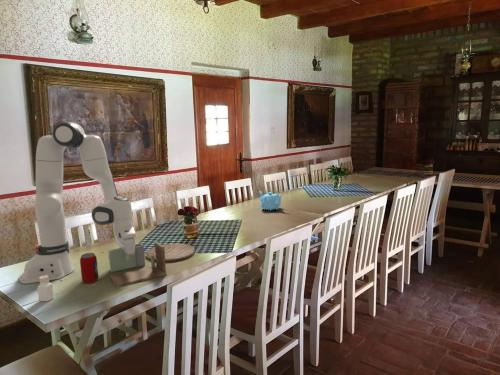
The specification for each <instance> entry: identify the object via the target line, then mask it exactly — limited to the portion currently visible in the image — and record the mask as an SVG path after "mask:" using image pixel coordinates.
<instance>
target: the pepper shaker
mask: <svg viewBox="0 0 500 375" xmlns="http://www.w3.org/2000/svg"><path fill="white" fill-rule="evenodd" d="M39 280H40V282H39V285H38V286H37V294H38V301H40V302H49V301H51V300H52V299H54V296H55V295H54V288H53V283H52V282H49V281H50V280H49V277H48V276H47V275H45V276H41V277H39Z"/></svg>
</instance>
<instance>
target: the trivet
mask: <svg viewBox="0 0 500 375" xmlns="http://www.w3.org/2000/svg"><path fill="white" fill-rule="evenodd" d="M161 245H162V246H164V251H165V264H166V263H177V262H179V261H184V260H187V259H189V258H192V257H193V256H194V254H195V247H194V246H192V245H190V244H187V243H186V244H185V243H168V244H167V243H166V244H161ZM151 255H154V257H155V263H156V254H155V246H153V247H152V248H150V249H148V250H147V251H146V253H145V256H146V257H145V258H146V259H147V260H148V261H150V262H151Z"/></svg>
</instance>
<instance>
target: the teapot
mask: <svg viewBox="0 0 500 375" xmlns="http://www.w3.org/2000/svg"><path fill="white" fill-rule="evenodd" d="M259 194H260V196H259V200H260V202H259V206H260V208H261V209H262V210H263V209H266V210H268V211H269V210H272V211H273V210H275V209H278V210H279V208H280V207H281V203H282V196H283V194H281V195H279V194H278V193H273V192H272V191H270V192H269V191H268V192H267V193H266V194H263V192H262V191H261V190H259Z"/></svg>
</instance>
